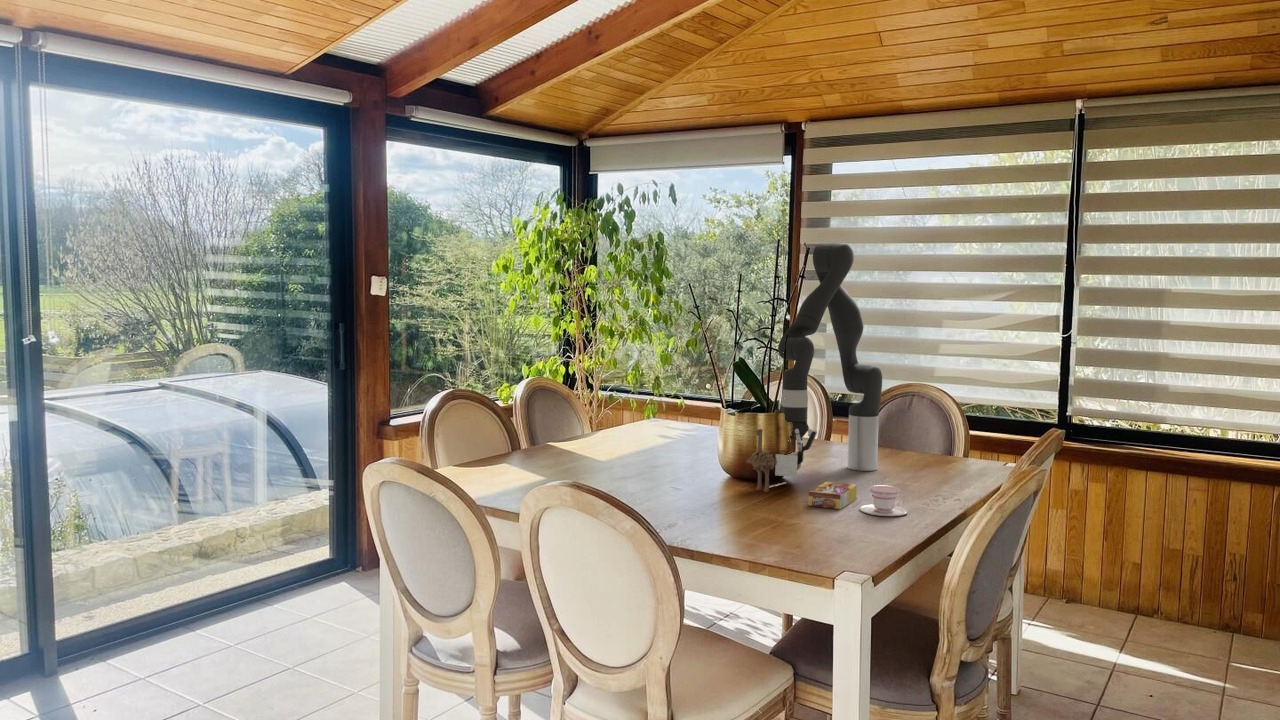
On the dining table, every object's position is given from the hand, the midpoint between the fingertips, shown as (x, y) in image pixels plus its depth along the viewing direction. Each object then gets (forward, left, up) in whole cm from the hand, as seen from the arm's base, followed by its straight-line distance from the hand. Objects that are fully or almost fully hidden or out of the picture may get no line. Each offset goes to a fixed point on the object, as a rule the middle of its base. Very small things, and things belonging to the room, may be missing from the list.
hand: (793, 463), depth 269 cm
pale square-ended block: (+3, 0, -2) cm, 3 cm away
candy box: (+11, +16, -5) cm, 20 cm away
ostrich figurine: (+7, -5, -7) cm, 11 cm away
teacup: (+23, +28, -7) cm, 37 cm away
